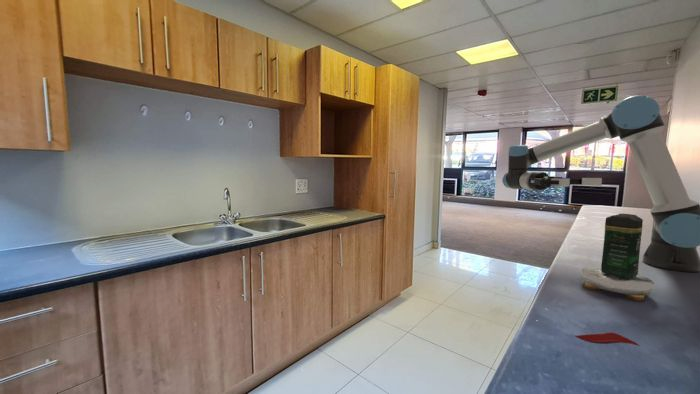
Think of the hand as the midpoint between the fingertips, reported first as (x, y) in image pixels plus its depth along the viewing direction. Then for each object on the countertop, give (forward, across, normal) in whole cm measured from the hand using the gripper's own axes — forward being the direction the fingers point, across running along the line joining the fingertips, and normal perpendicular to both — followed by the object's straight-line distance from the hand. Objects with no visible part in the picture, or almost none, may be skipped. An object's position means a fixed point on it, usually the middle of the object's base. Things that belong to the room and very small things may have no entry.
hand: (585, 182), depth 101 cm
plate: (+15, +5, -32) cm, 36 cm away
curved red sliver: (+35, +35, -33) cm, 59 cm away
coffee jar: (+14, +3, -28) cm, 31 cm away
